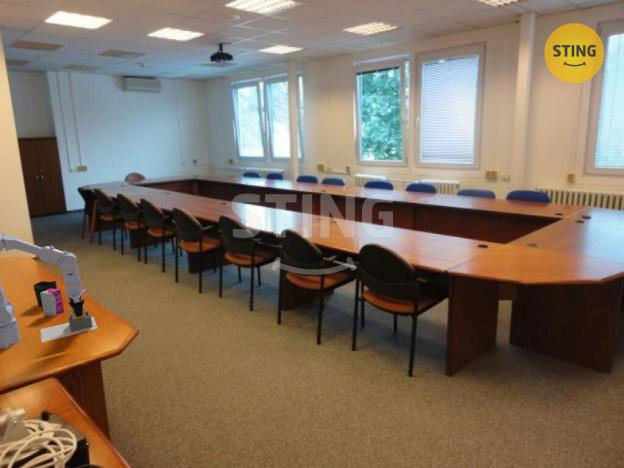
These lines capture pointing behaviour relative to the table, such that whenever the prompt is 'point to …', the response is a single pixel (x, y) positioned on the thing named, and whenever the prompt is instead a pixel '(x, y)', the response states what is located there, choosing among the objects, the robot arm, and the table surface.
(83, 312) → the ochre block
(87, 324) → the charcoal base block
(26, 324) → the table surface
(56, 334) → the build board
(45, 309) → the supplement box
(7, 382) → the table surface
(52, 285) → the pen holder
